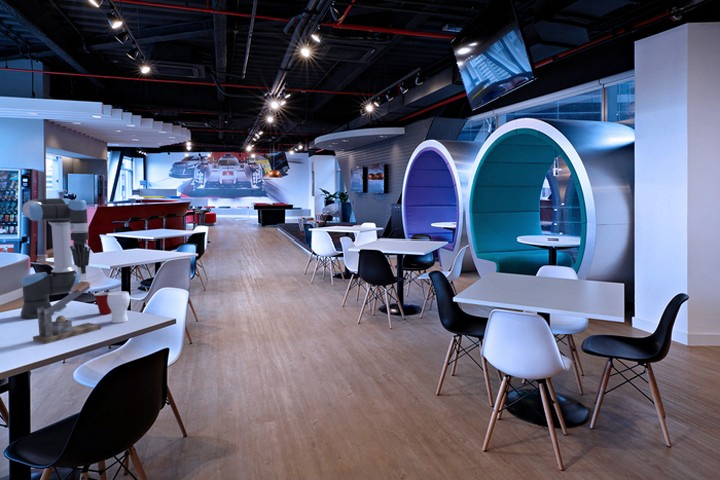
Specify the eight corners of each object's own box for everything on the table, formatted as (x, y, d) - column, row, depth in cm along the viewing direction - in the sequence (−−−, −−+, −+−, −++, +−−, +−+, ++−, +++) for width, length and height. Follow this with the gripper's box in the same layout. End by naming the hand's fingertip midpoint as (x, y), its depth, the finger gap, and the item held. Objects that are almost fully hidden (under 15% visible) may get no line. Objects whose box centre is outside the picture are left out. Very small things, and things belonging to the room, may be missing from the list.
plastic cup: (111, 310, 273) (110, 289, 272) (119, 312, 267) (118, 292, 265) (91, 313, 265) (90, 292, 264) (99, 316, 258) (98, 295, 257)
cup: (104, 322, 247) (102, 294, 246) (122, 317, 257) (120, 290, 255) (117, 324, 242) (115, 296, 241) (135, 319, 252) (133, 292, 250)
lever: (50, 319, 215) (45, 311, 213) (43, 317, 218) (37, 309, 216) (93, 289, 233) (88, 282, 230) (85, 288, 235) (81, 281, 233)
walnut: (54, 324, 222) (53, 316, 221) (62, 322, 225) (62, 314, 225) (59, 325, 220) (58, 317, 219) (68, 323, 223) (67, 315, 223)
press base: (45, 343, 212) (43, 311, 210) (33, 340, 216) (30, 308, 215) (100, 329, 235) (98, 299, 233) (88, 326, 239) (86, 297, 238)
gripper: (63, 232, 228) (66, 280, 230) (79, 233, 222) (83, 282, 224) (78, 231, 235) (81, 277, 237) (95, 231, 229) (98, 279, 231)
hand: (82, 280), depth 231 cm, fingers closed
